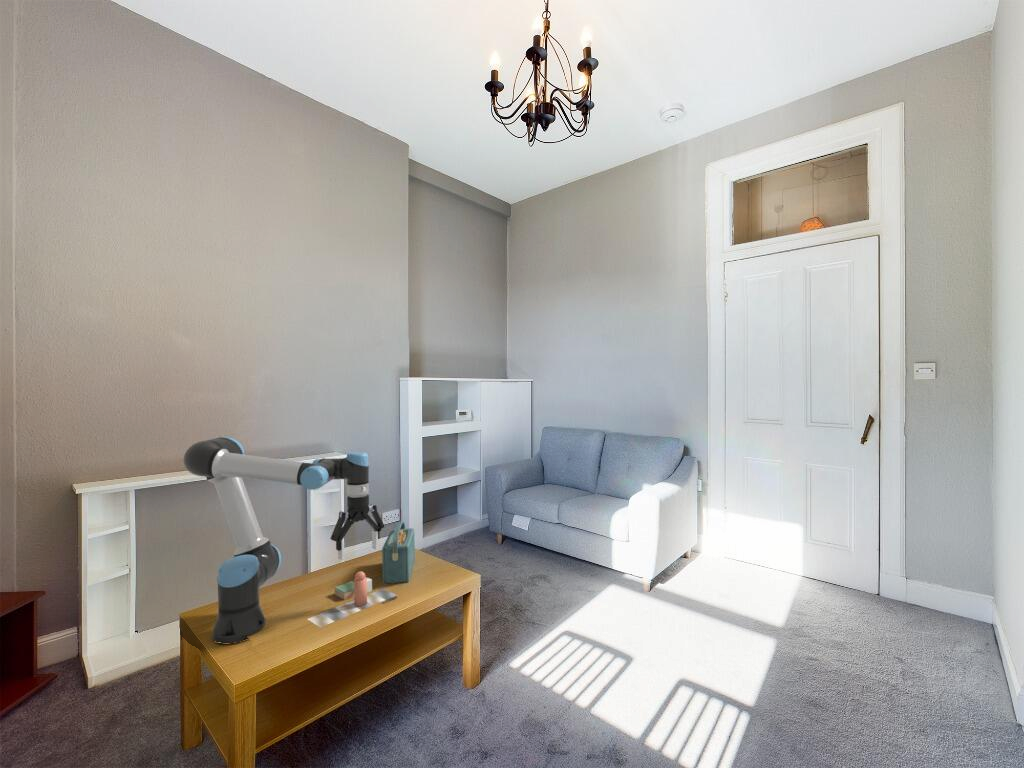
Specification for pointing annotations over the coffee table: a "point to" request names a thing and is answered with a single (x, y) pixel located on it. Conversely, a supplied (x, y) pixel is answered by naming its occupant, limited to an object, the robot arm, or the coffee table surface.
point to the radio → (398, 555)
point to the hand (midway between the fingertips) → (358, 553)
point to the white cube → (369, 585)
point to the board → (351, 608)
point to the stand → (345, 590)
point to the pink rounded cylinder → (360, 589)
